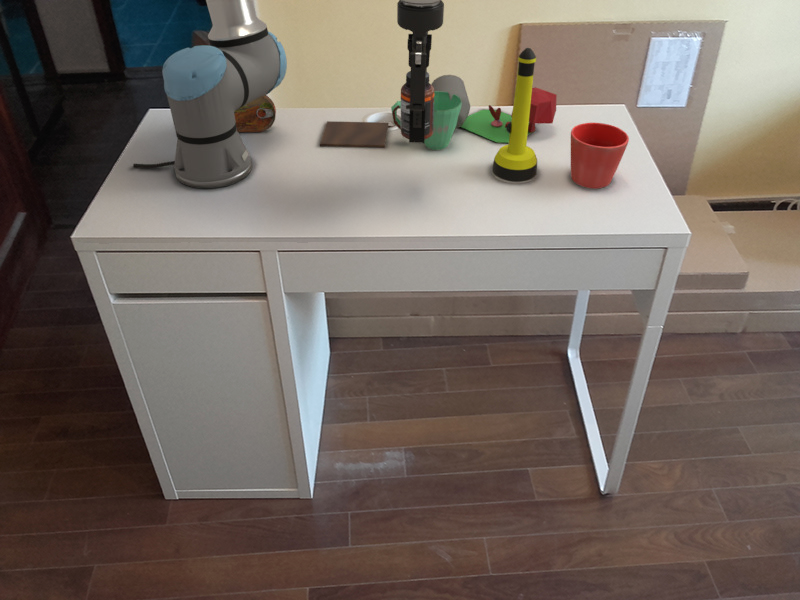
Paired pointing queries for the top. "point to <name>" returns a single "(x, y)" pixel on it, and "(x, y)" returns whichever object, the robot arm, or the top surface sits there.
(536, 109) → the red green faceted piece
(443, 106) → the mug
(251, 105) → the tin
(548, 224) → the top surface
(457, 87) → the cup
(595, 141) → the flower pot
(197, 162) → the robot arm
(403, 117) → the supplement bottle
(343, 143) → the placemat
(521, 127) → the flashlight
